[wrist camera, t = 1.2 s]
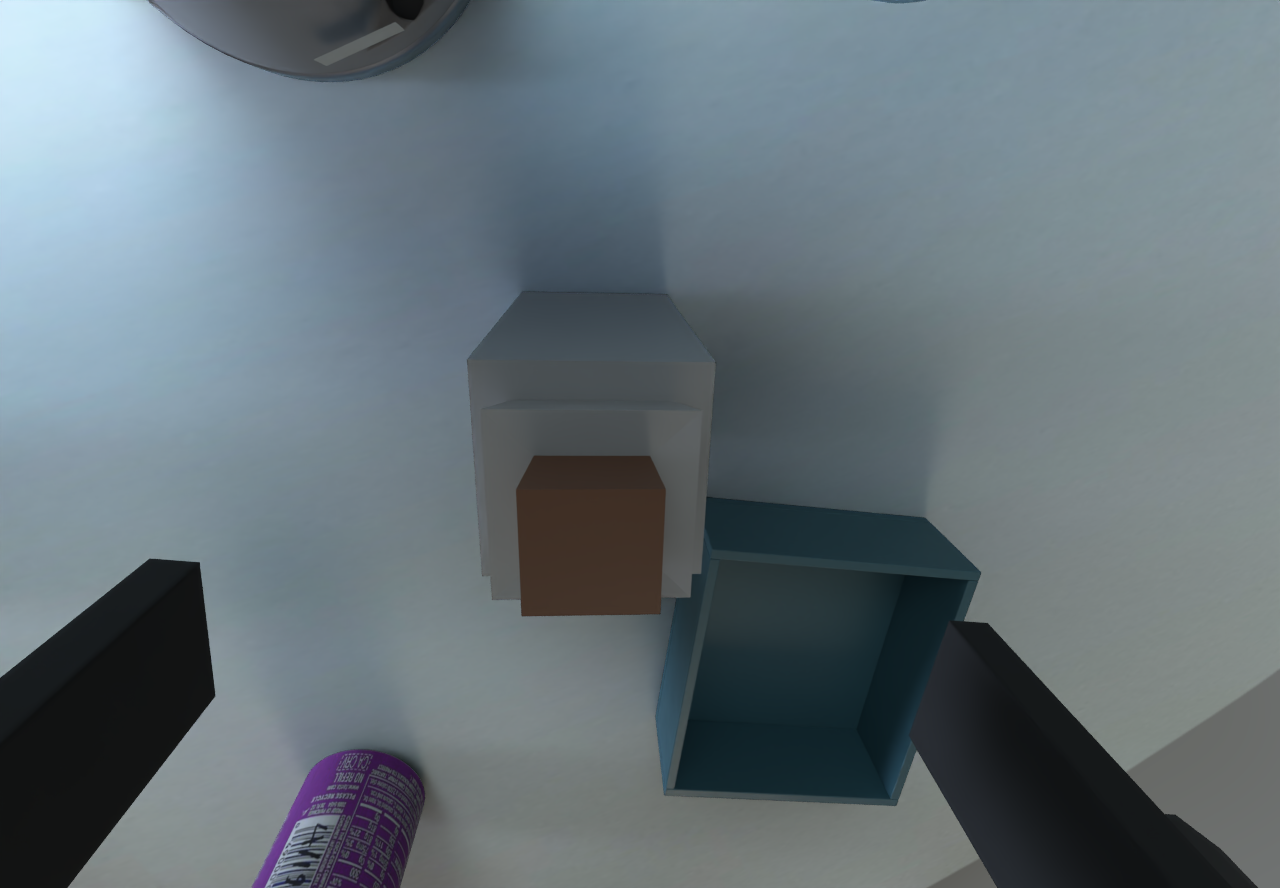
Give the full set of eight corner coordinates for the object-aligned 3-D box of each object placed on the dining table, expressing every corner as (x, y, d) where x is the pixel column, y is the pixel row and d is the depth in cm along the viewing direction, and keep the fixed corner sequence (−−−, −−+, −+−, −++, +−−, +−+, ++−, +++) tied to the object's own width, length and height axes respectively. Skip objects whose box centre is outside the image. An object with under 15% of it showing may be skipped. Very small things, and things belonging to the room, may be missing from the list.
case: (694, 495, 34) (712, 549, 29) (925, 517, 36) (982, 572, 30) (655, 716, 39) (663, 795, 34) (858, 728, 41) (896, 806, 35)
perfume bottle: (666, 294, 30) (752, 413, 14) (661, 429, 33) (728, 673, 16) (522, 291, 30) (425, 411, 13) (527, 428, 32) (450, 678, 15)
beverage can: (289, 797, 40) (169, 1031, 29) (342, 721, 38) (236, 939, 27) (393, 839, 42) (319, 1075, 30) (449, 769, 40) (391, 991, 29)
